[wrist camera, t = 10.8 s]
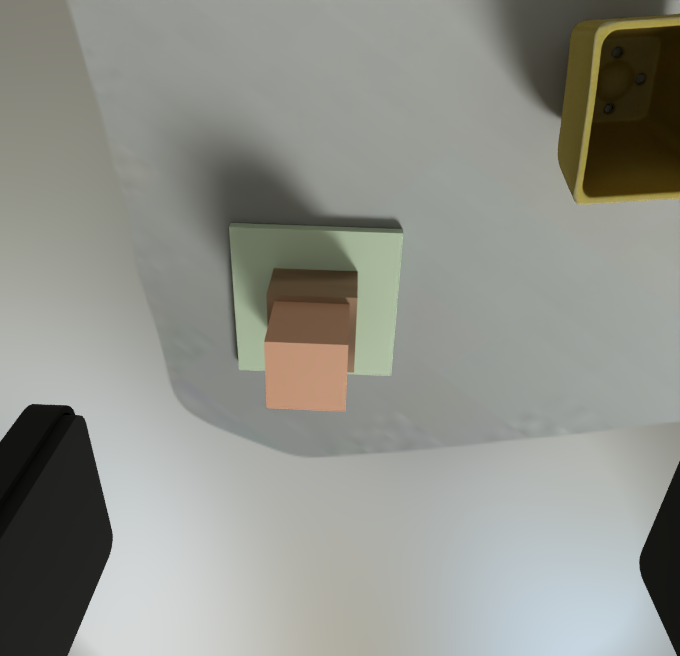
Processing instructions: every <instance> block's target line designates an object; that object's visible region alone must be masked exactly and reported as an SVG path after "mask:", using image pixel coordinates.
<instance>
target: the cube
mask: <svg viewBox="0 0 680 656" xmlns="http://www.w3.org/2000/svg"><path fill="white" fill-rule="evenodd" d="M349 311H350V304H332V303H308V302H283V301H274V304H273V308H272V312H271V316H270V320H269V324H268V328H267V332H266V336H265V340H264V353H265V378H266V403H267V408H276V409H299V410H323V411H346V388H347V365H348V341H349Z"/></svg>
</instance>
